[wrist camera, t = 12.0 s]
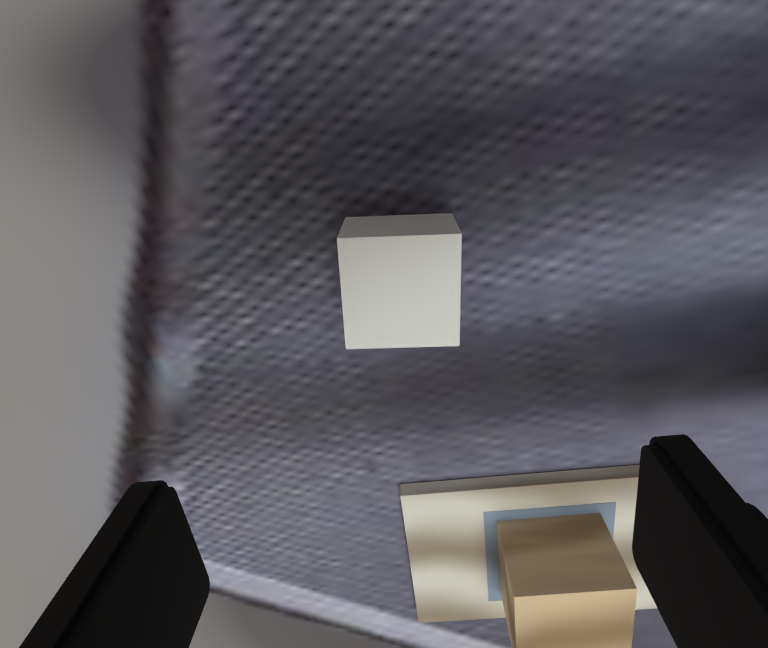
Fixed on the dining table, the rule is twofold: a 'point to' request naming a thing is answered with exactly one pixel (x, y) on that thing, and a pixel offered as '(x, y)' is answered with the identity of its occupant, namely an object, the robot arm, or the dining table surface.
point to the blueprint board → (479, 531)
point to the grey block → (400, 280)
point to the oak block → (564, 583)
